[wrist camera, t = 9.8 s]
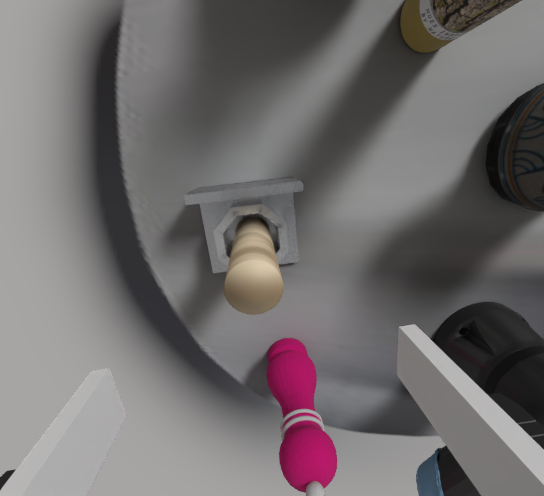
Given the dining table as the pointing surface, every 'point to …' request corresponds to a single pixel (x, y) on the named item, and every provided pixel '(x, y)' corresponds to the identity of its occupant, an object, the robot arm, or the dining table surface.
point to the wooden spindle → (253, 269)
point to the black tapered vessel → (519, 152)
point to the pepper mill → (300, 419)
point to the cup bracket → (248, 202)
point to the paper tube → (445, 20)
